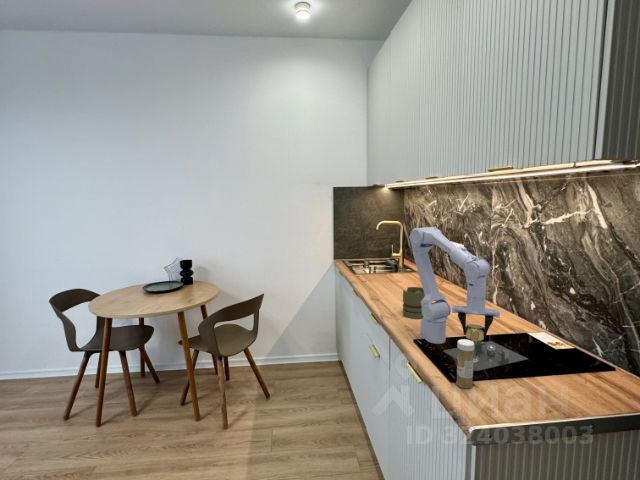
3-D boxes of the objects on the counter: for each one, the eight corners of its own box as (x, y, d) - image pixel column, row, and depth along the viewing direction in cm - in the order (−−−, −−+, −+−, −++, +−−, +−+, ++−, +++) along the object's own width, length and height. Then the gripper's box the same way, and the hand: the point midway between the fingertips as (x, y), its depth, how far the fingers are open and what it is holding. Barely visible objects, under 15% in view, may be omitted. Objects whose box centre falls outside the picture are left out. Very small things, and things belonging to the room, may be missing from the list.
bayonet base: (442, 353, 129) (442, 341, 129) (490, 343, 137) (491, 332, 136) (475, 373, 114) (476, 360, 114) (528, 361, 122) (528, 349, 121)
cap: (466, 331, 128) (467, 321, 128) (483, 333, 126) (484, 323, 125) (465, 340, 120) (465, 330, 120) (483, 343, 118) (483, 332, 117)
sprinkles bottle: (453, 381, 110) (454, 339, 108) (468, 380, 110) (469, 338, 108) (460, 389, 105) (462, 345, 104) (475, 388, 106) (477, 344, 104)
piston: (399, 291, 166) (408, 285, 176) (399, 316, 168) (407, 309, 177) (423, 294, 160) (431, 288, 170) (423, 321, 162) (431, 313, 171)
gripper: (451, 297, 120) (450, 336, 122) (500, 301, 114) (499, 343, 116) (453, 291, 127) (452, 329, 128) (500, 295, 121) (498, 335, 123)
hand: (474, 335), depth 123 cm, fingers closed on cap, 5 cm apart
